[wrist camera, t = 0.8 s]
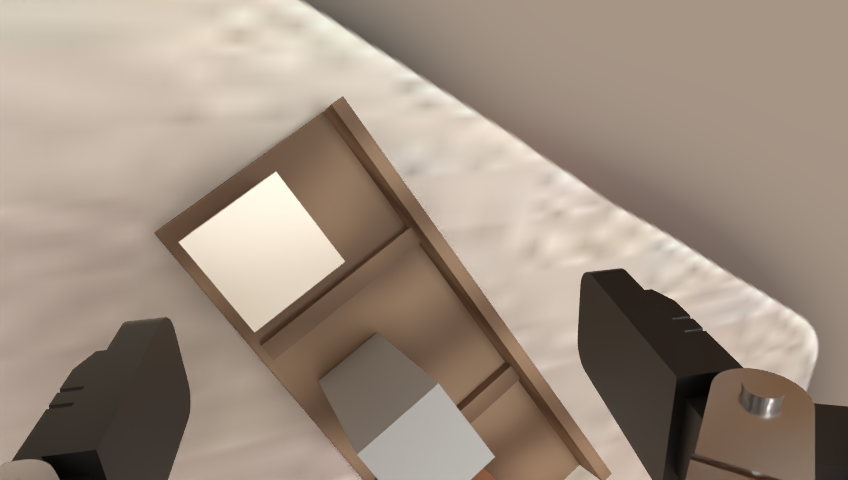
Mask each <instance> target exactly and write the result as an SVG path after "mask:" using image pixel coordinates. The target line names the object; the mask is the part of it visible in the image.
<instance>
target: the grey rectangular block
mask: <svg viewBox="0 0 848 480" xmlns="http://www.w3.org/2000/svg"><path fill="white" fill-rule="evenodd" d="M318 382H319V384H320V386H321V387H322V389H323V391H324V393H325V395H326V397H327V399H328V401H329V403H330V404H331V406H332V408H333V410H334V412H335V414H336V416H337V418H338V420H339V421H340V423H341V425H342V427H343V429H344V431H345V433H346V435H347V437H348V439H349V440H350V442H351V444H352V446H353V448H354V450H355V452H356V454H357V455H358V456H359V458H360V459H361V460H362V461H363V462H364V464H365V465H366V466H367V467H368V468H369V470H370V471H371V472H372V473H373V474H374V475H375V477H376V478H377V479H378V480H471V479H472V478H473V477H474V476H475V475H476V474H477V473H478V472H480V471H481V470H482V469H483V468H484V467H485V466H486V465H487V464H488V463H489V462H490V461H491V460H492V459H493V458H495V456H494V455H493V453H492V452H491V451H490V450H489V448H488V447H487V446H486V444H485V443H484V442H483V440H482V439H481V438H480V437H479V435H478V434H477V433H476V431H475V430H474V429H473V427H472V426H471V425H470V423H469V422H468V421H467V420H466V418H465V417H464V416H463V414H462V413H461V412H460V410H459V409H458V408H457V407H456V405H455V404H454V403H453V401H452V400H451V399H450V397H449V396H448V395H447V394H446V392H445V391H444V390H443V388H442V387H441V386H440V384H439V383H438V382H436V381H435V380H434V379H433V378H432V377H430V376H429V375H428V374H427V373H426V372H424V371H423V370H422V369H421V368H420V367H418V366H417V365H416V364H415V363H414V362H412V361H411V360H410V359H409V358H408V357H406V356H405V355H404V354H403V353H402V352H400V351H399V350H398V349H397V348H396V347H394V346H393V345H392V344H391V343H390V342H388V341H387V340H386V339H385V338H384V337H382V336H381V335H380V334H379V333H378V332H377V333H376V334H375V335H373V336H372V337H371V338H370V339H369V340H367V341H366V342H365V343H364V344H363V345H361V346H360V347H359V348H358V349H357V350H355V351H354V352H353V353H352V354H351V355H349V356H348V357H347V358H346V359H344V360H343V361H342V362H341V363H340V364H338V365H337V366H336V367H335V368H334V369H332V370H331V371H330V372H329V373H328V374H326V375H325V376H324V377H323V378H322V379H320V380H319V381H318Z"/></svg>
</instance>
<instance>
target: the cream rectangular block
mask: <svg viewBox="0 0 848 480" xmlns="http://www.w3.org/2000/svg"><path fill="white" fill-rule="evenodd" d="M179 243H180V244H181V246H182V247H183V248H184V249H185V250H186V252H187V253H188V254H189V255H190V256H191V258H192V259H193V260H194V261H195V262H196V264H197V265H198V266H199V267H200V268H201V269H202V271H203V272H204V273H205V274H206V275H207V277H208V278H209V279H210V280H211V281H212V283H213V284H214V285H215V286H216V287H217V289H218V290H219V291H220V292H221V293H222V294H223V296H224V297H225V298H226V299H227V300H228V302H229V303H230V304H231V305H232V306H233V308H234V309H235V310H236V311H237V312H238V314H239V315H240V316H241V317H242V318H243V319H244V321H245V322H246V323H247V324H248V325H249V327H250V328H251V329H252V330H253V331H254V333H255V332H256V331H257V330H259V329H260V328H261V327H262V326H264V325H265V324H266V323H268V322H269V321H270V320H271V319H273V318H274V317H275V316H276V315H278V314H279V313H280V312H282V311H283V310H284V309H285V308H287V307H288V306H289V305H290V304H292V303H293V302H294V301H296V300H297V299H298V298H299V297H301V296H302V295H303V294H304V293H306V292H307V291H308V290H310V289H311V288H312V287H313V286H315V285H316V284H317V283H318V282H320V281H321V280H322V279H324V278H325V277H326V276H327V275H329V274H330V273H331V272H332V271H334V270H335V269H336V268H338V267H339V266H340V265H341V264H343V263H344V262H345V261H344V259H343V258H342V257H341V255H340V254H339V253H338V252H337V250H336V249H335V248H334V246H333V245H332V244H331V242H330V241H329V240H328V239H327V237H326V236H325V235H324V233H323V232H322V231H321V229H320V228H319V227H318V226H317V224H316V223H315V222H314V220H313V219H312V218H311V216H310V215H309V214H308V212H307V211H306V210H305V209H304V207H303V206H302V205H301V203H300V202H299V201H298V199H297V198H296V197H295V196H294V194H293V193H292V192H291V190H290V189H289V188H288V186H287V185H286V184H285V183H284V181H283V180H282V179H281V177H280V176H279V175H278V173H277V172H275V173H273V174H272V175H270V176H269V177H267V178H266V179H264V180H263V181H261V182H260V183H258V184H257V185H256V186H254V187H253V188H251V189H250V190H249V191H247V192H246V193H245V194H243V195H242V196H240V197H239V198H238V199H236V200H235V201H234V202H232V203H231V204H229V205H228V206H227V207H225V208H224V209H222V210H221V211H220V212H218V213H217V214H216V215H214V216H213V217H211V218H210V219H209V220H207V221H206V222H204V223H203V224H202V225H200V226H199V227H198V228H196V229H195V230H193V231H192V232H191V233H190V234H188V235H187V236H186V237H185V238H183V239H182V240H181V241H179Z"/></svg>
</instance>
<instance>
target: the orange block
mask: <svg viewBox="0 0 848 480" xmlns="http://www.w3.org/2000/svg"><path fill="white" fill-rule="evenodd" d="M471 480H495V479H494V477H493V476H492V475H491V474H490V473H489V472H488V471H487V470H486V469H485V468H483V469H482V470H481V471H480V472H478V473H477V474H476V475H475V476H474V477H473V478H472V479H471Z"/></svg>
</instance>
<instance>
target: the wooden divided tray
mask: <svg viewBox="0 0 848 480" xmlns="http://www.w3.org/2000/svg"><path fill="white" fill-rule="evenodd" d="M275 172H277V173H278V175H279V176H280V177H281V179H282V180H283V181H284V183H285V184H286V185H287V186H288V188H289V189H290V190H291V192H292V193H293V194H294V196H295V197H296V198H297V199H298V201H299V202H300V203H301V205H302V206H303V207H304V209H305V210H306V211H307V212H308V214H309V215H310V216H311V218H312V219H313V220H314V222H315V223H316V224H317V226H318V227H319V228H320V229H321V231H322V232H323V233H324V235H325V236H326V237H327V239H328V240H329V241H330V242H331V244H332V245H333V246H334V248H335V249H336V250H337V252H338V253H339V254H340V255H341V257H342V258H343V259H344V261H345V262H344V263H343V264H341V265H340V266H339V267H338V268H336V269H335V270H334V271H332V272H331V273H330V274H329V275H327V276H326V277H325V278H324V279H322V280H321V281H320V282H318V283H317V284H316V285H315V286H313V287H312V288H311V289H310V290H308V291H307V292H306V293H304V294H303V295H302V296H301V297H299V298H298V299H297V300H296V301H294V302H293V303H292V304H290V305H289V306H288V307H287V308H285V309H284V310H283V311H282V312H280V313H279V314H278V315H276V316H275V317H274V318H273V319H271V320H270V321H269V322H268V323H266V324H265V325H264V326H262V327H261V328H260V329H259V330H257V331H256V332H255V333H254V331H253V330H252V329H251V328H250V327H249V325H248V324H247V323H246V322H245V321H244V319H243V318H242V317H241V316H240V315H239V314H238V312H237V311H236V310H235V309H234V308H233V306H232V305H231V304H230V303H229V302H228V300H227V299H226V298H225V297H224V296H223V294H222V293H221V292H220V291H219V290H218V289H217V287H216V286H215V285H214V284H213V283H212V281H211V280H210V279H209V278H208V277H207V275H206V274H205V273H204V272H203V271H202V269H201V268H200V267H199V266H198V265H197V264H196V262H195V261H194V260H193V259H192V258H191V256H190V255H189V254H188V253H187V252H186V250H185V249H184V248H183V247H182V246H181V244H180V243H179V241H181V240H182V239H183V238H185V237H186V236H187V235H188V234H190V233H191V232H192V231H193V230H195V229H196V228H198V227H199V226H200V225H202V224H203V223H204V222H206V221H207V220H209V219H210V218H211V217H213V216H214V215H216V214H217V213H218V212H220V211H221V210H222V209H224V208H225V207H227V206H228V205H229V204H231V203H232V202H234V201H235V200H236V199H238V198H239V197H240V196H242V195H243V194H245V193H246V192H247V191H249V190H250V189H251V188H253V187H254V186H256V185H257V184H258V183H260V182H261V181H263V180H264V179H266V178H267V177H269V176H270V175H272V174H273V173H275ZM154 233H155V235H156V236H157V237H158V238H159V239H160V240H161V242H162V243H163V244H164V245H165V246H166V248H167V249H168V250H169V251H170V252H171V253H172V255H173V256H174V257H175V258H176V259H177V260H178V262H179V263H180V264H181V265H182V266H183V268H184V269H185V270H186V271H187V272H188V273H189V275H190V276H191V277H192V278H193V279H194V281H195V282H196V283H197V284H198V285H199V286H200V288H201V289H202V290H203V291H204V292H205V294H206V295H207V296H208V297H209V298H210V299H211V301H212V302H213V303H214V304H215V305H216V307H217V308H218V309H219V310H220V311H221V312H222V314H223V315H224V316H225V317H226V318H227V319H228V321H229V322H230V323H231V324H232V325H233V327H234V328H235V329H236V330H237V331H238V332H239V334H240V335H241V336H242V337H243V338H244V340H245V341H246V342H247V343H248V344H249V345H250V347H251V348H252V349H253V350H254V351H255V353H256V354H257V355H258V356H259V357H260V358H261V360H262V361H263V362H264V363H265V364H266V365H267V367H268V368H269V369H270V370H271V371H272V373H273V374H274V375H275V376H276V377H277V378H278V380H279V381H280V382H281V383H282V384H283V386H284V387H285V388H286V389H287V390H288V391H289V393H290V394H291V395H292V396H293V397H294V399H295V400H296V401H297V402H298V403H299V404H300V406H301V407H302V408H303V409H304V410H305V411H306V413H307V414H308V415H309V416H310V417H311V419H312V420H313V421H314V422H315V423H316V424H317V426H318V427H319V428H320V429H321V430H322V432H323V433H324V434H325V435H326V436H327V437H328V439H329V440H330V441H331V442H332V443H333V445H334V446H335V447H336V448H337V449H338V450H339V452H340V453H341V454H342V455H343V456H344V457H345V459H346V460H347V461H348V462H349V463H350V465H351V466H352V467H353V468H354V469H355V470H356V472H357V473H358V474H359V475H360V476H361V478H362V479H363V480H378V479H377V478H376V477H375V475H374V474H373V473H372V472H371V471H370V470H369V468H368V467H367V466H366V465H365V464H364V462H363V461H362V460H361V459H360V458H359V456H358V455H357V454H356V452H355V450H354V448H353V446H352V444H351V442H350V440H349V439H348V437H347V435H346V433H345V431H344V429H343V427H342V425H341V423H340V421H339V420H338V418H337V416H336V414H335V412H334V410H333V408H332V406H331V404H330V403H329V401H328V399H327V397H326V395H325V393H324V391H323V389H322V387H321V386H320V384H319V382H318V381H319V380H320V379H322V378H323V377H324V376H325V375H326V374H328V373H329V372H330V371H331V370H332V369H334V368H335V367H336V366H337V365H338V364H340V363H341V362H342V361H343V360H344V359H346V358H347V357H348V356H349V355H351V354H352V353H353V352H354V351H355V350H357V349H358V348H359V347H360V346H361V345H363V344H364V343H365V342H366V341H367V340H369V339H370V338H371V337H372V336H373V335H375V334H376V333H377V332H378V333H379V334H380V335H381V336H382V337H384V338H385V339H386V340H387V341H388V342H390V343H391V344H392V345H393V346H394V347H396V348H397V349H398V350H399V351H400V352H402V353H403V354H404V355H405V356H406V357H408V358H409V359H410V360H411V361H412V362H414V363H415V364H416V365H417V366H418V367H420V368H421V369H422V370H423V371H424V372H426V373H427V374H428V375H429V376H430V377H432V378H433V379H434V380H435V381H436V382H438V383H439V384H440V386H441V387H442V388H443V390H444V391H445V392H446V394H447V395H448V396H449V397H450V399H451V400H452V401H453V403H454V404H455V405H456V407H457V408H458V409H459V410H460V412H461V413H462V414H463V416H464V417H465V418H466V420H467V421H468V422H469V423H470V425H471V426H472V427H473V429H474V430H475V431H476V433H477V434H478V435H479V437H480V438H481V439H482V440H483V442H484V443H485V444H486V446H487V447H488V448H489V450H490V451H491V452H492V453H493V455H494V456H495V458H493V459H492V460H491V461H490V462H489V463H488V464H487V465H486V466H485V467H484V468H485V469H486V470H487V471H488V472H489V473H490V474H491V475H492V476H493V477H494V479H495V480H564V479H565V478H566V477H567V476H568V475H569V474H570V473H571V472H572V471H573V470H575V469H576V468H577V467H578V466H579V465H581V466H582V467H584V468H585V469H586V470H588V471H589V472H590V473H592V474H593V475H594V476H596V477H597V478H599V479H600V480H606V479H607V478H608V477H609V476H610V475H611V474H612V473H611V472H610V470H609V469H608V468H607V466H606V465H605V463H604V462H603V461H602V459H601V458H600V456H599V455H598V454H597V452H596V451H595V449H594V448H593V447H592V445H591V444H590V442H589V441H588V440H587V438H586V437H585V435H584V434H583V433H582V431H581V430H580V428H579V427H578V426H577V424H576V423H575V421H574V420H573V419H572V417H571V416H570V414H569V413H568V412H567V410H566V409H565V407H564V406H563V405H562V403H561V402H560V400H559V399H558V397H557V396H556V395H555V393H554V392H553V390H552V389H551V388H550V386H549V385H548V383H547V382H546V381H545V379H544V378H543V376H542V375H541V374H540V372H539V371H538V369H537V368H536V367H535V365H534V364H533V362H532V361H531V360H530V358H529V357H528V355H527V354H526V353H525V351H524V350H523V348H522V347H521V346H520V344H519V343H518V341H517V340H516V339H515V337H514V336H513V334H512V333H511V332H510V330H509V329H508V327H507V326H506V325H505V323H504V322H503V320H502V319H501V317H500V316H499V315H498V313H497V312H496V310H495V309H494V308H493V306H492V305H491V303H490V302H489V301H488V299H487V298H486V296H485V295H484V294H483V292H482V291H481V289H480V288H479V287H478V285H477V284H476V282H475V281H474V280H473V278H472V277H471V275H470V274H469V273H468V271H467V270H466V268H465V267H464V266H463V264H462V263H461V261H460V260H459V259H458V257H457V256H456V254H455V253H454V252H453V250H452V249H451V247H450V246H449V245H448V243H447V242H446V240H445V239H444V237H443V236H442V235H441V233H440V232H439V230H438V229H437V228H436V226H435V225H434V223H433V222H432V221H431V219H430V218H429V216H428V215H427V214H426V212H425V211H424V209H423V208H422V207H421V205H420V204H419V202H418V201H417V200H416V198H415V197H414V195H413V194H412V193H411V191H410V190H409V188H408V187H407V186H406V184H405V183H404V181H403V180H402V179H401V177H400V176H399V174H398V173H397V172H396V170H395V169H394V167H393V166H392V165H391V163H390V162H389V160H388V159H387V157H386V156H385V155H384V153H383V152H382V150H381V149H380V148H379V146H378V145H377V143H376V142H375V141H374V139H373V138H372V136H371V135H370V134H369V132H368V131H367V129H366V128H365V127H364V125H363V124H362V122H361V121H360V120H359V118H358V117H357V115H356V114H355V113H354V111H353V110H352V108H351V107H350V106H349V104H348V103H347V101H346V100H345V99H344V97H341V98H340V99H338V100H337V101H336V102H334V103H333V104H331V105H330V106H329V107H328V108H327V109H326V110H325V111H324V112H323V113H321V114H320V115H319V116H317V117H316V118H314V119H313V120H312V121H310V122H309V123H307V124H306V125H305V126H303V127H302V128H300V129H299V130H298V131H296V132H295V133H293V134H292V135H291V136H289V137H288V138H286V139H285V140H284V141H282V142H281V143H279V144H278V145H277V146H275V147H274V148H272V149H271V150H270V151H268V152H267V153H265V154H264V155H263V156H261V157H260V158H258V159H257V160H255V161H254V162H253V163H251V164H250V165H248V166H247V167H246V168H244V169H243V170H241V171H240V172H239V173H237V174H236V175H234V176H233V177H232V178H230V179H229V180H227V181H226V182H225V183H223V184H222V185H220V186H219V187H218V188H216V189H215V190H213V191H212V192H211V193H209V194H208V195H206V196H205V197H204V198H202V199H201V200H199V201H198V202H197V203H195V204H194V205H192V206H191V207H190V208H188V209H187V210H185V211H184V212H183V213H181V214H180V215H178V216H177V217H176V218H174V219H173V220H171V221H170V222H169V223H167V224H166V225H164V226H163V227H162V228H160V229H159V230H157V231H156V232H154Z"/></svg>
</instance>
